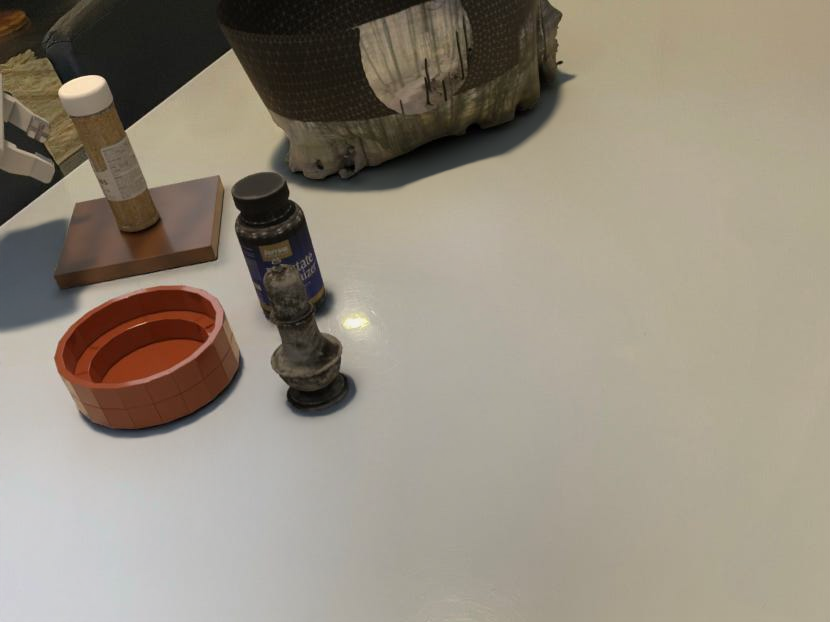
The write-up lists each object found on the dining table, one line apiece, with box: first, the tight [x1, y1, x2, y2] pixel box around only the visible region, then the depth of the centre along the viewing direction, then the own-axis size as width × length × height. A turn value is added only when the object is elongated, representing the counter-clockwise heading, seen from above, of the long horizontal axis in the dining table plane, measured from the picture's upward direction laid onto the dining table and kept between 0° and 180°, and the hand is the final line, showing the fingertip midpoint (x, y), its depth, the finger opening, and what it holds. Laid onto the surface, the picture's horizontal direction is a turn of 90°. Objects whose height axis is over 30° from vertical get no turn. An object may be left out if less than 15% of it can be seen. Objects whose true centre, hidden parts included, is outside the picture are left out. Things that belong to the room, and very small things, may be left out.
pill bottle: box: [230, 171, 327, 317], centre depth 84 cm, size 6×6×11 cm
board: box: [53, 174, 225, 290], centre depth 100 cm, size 16×15×2 cm
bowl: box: [53, 284, 240, 430], centre depth 82 cm, size 14×14×4 cm
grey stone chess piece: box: [263, 257, 350, 412], centre depth 75 cm, size 6×6×12 cm
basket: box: [215, 0, 564, 180], centre depth 102 cm, size 28×35×16 cm
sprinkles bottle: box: [57, 74, 160, 232], centre depth 94 cm, size 5×5×13 cm
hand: (50, 153), depth 92 cm, fingers open, 8 cm apart
